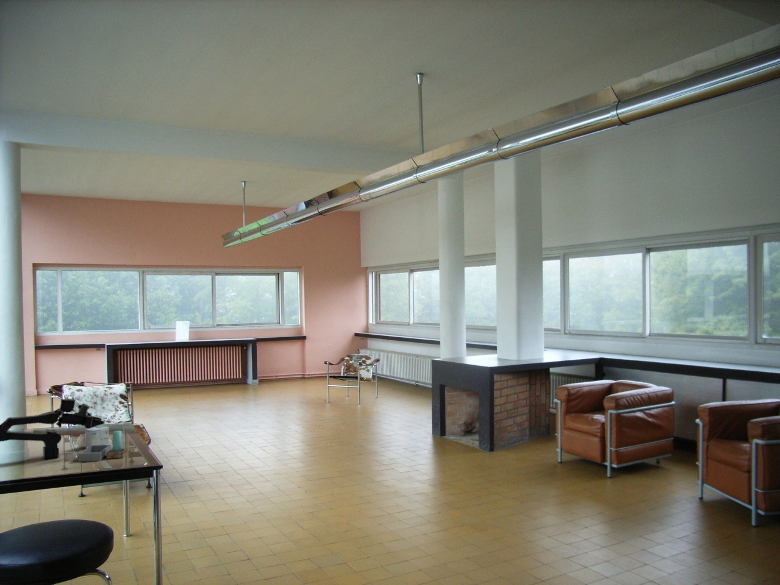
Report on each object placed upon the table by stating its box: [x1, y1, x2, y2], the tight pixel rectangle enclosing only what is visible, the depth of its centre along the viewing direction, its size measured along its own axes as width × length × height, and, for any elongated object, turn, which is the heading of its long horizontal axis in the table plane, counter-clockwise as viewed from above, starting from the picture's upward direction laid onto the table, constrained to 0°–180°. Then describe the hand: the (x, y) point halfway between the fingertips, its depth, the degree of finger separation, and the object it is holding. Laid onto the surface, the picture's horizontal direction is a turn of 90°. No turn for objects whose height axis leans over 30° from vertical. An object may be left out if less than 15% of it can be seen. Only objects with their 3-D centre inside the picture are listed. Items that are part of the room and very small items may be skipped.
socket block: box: [106, 447, 129, 459], centre depth 330 cm, size 8×8×3 cm
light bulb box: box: [84, 425, 110, 448], centre depth 350 cm, size 11×7×11 cm, turn 146°
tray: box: [78, 444, 112, 462], centre depth 329 cm, size 11×18×4 cm, turn 7°
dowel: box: [112, 430, 123, 452], centre depth 330 cm, size 4×4×13 cm
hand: (102, 420), depth 341 cm, fingers open, 9 cm apart
